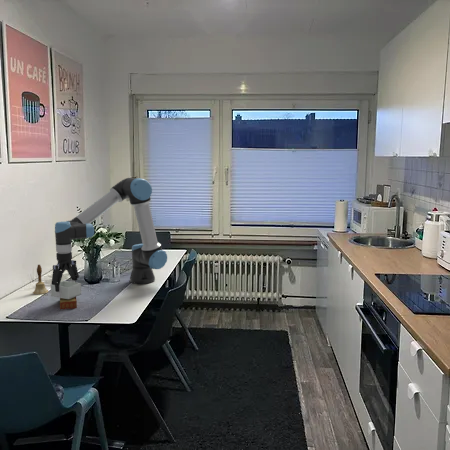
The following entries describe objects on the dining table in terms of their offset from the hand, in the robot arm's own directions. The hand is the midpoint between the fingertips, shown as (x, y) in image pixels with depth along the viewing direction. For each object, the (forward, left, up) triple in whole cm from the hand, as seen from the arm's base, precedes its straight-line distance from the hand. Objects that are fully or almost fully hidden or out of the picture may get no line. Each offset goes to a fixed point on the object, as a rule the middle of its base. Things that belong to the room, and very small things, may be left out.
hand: (66, 294), depth 234 cm
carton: (-1, 0, -6) cm, 6 cm away
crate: (0, 0, 0) cm, 0 cm away
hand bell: (-9, -29, -5) cm, 31 cm away
